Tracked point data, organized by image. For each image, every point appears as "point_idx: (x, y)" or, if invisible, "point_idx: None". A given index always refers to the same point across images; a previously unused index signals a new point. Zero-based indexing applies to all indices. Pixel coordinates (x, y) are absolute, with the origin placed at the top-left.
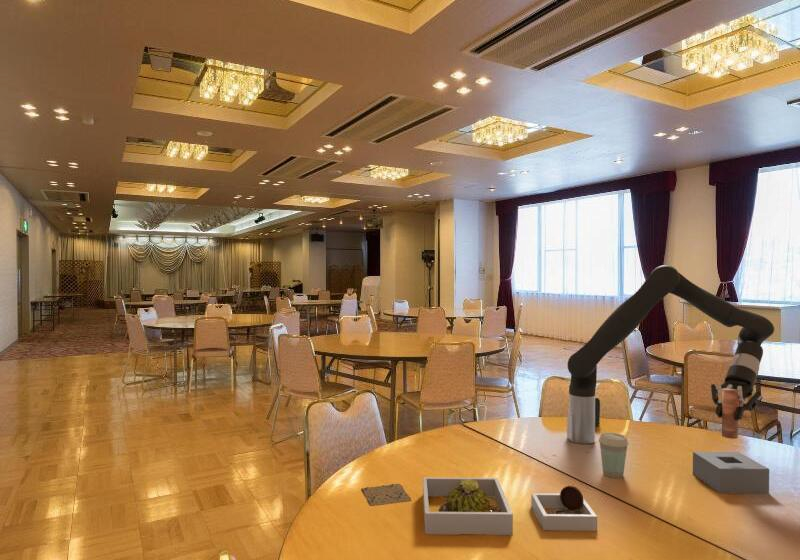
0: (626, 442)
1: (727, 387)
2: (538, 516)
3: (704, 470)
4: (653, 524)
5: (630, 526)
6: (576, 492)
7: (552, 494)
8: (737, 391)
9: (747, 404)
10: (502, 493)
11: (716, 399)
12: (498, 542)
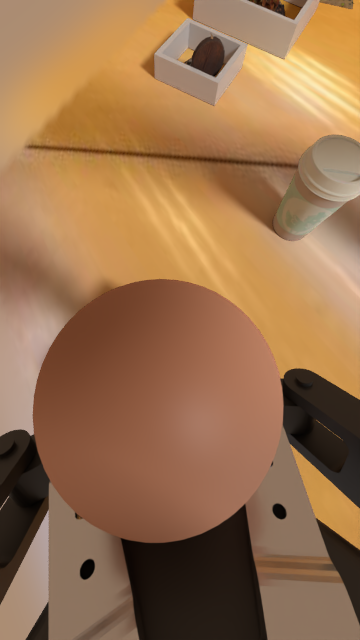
0: (308, 173)
1: (331, 594)
2: None
3: None
4: (129, 135)
5: (141, 111)
6: (204, 49)
7: (232, 58)
8: (36, 405)
9: (11, 438)
10: (249, 3)
11: (283, 383)
12: (187, 4)
